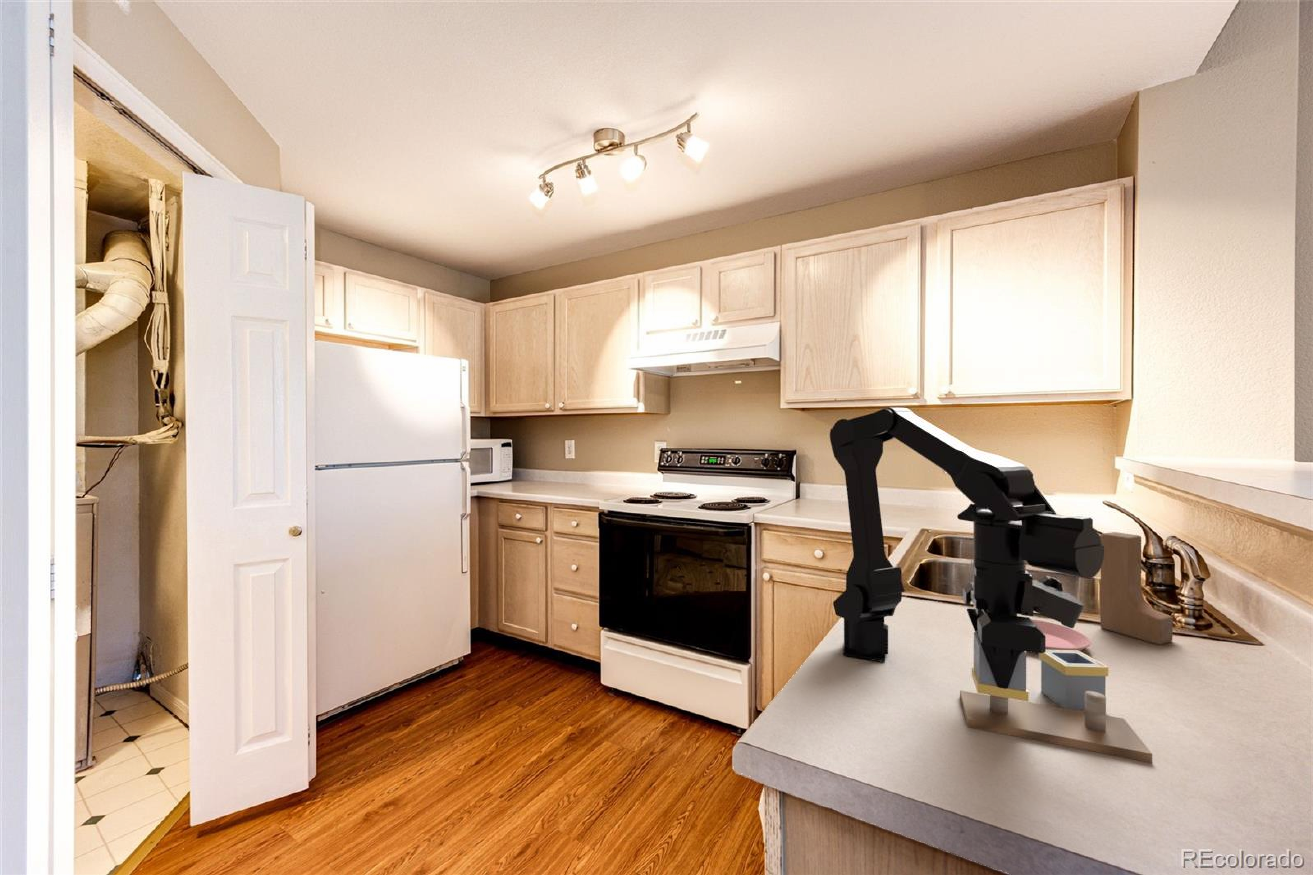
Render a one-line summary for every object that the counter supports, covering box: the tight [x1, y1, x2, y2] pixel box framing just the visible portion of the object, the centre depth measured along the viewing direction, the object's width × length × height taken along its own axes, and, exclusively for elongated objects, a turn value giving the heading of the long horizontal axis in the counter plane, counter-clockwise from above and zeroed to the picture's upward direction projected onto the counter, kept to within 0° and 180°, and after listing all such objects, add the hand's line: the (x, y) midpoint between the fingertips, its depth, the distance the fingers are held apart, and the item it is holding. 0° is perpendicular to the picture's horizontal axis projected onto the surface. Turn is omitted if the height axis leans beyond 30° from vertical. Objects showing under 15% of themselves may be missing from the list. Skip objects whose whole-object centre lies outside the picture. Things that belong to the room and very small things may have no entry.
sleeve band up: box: [1038, 650, 1109, 712], centre depth 73 cm, size 5×5×6 cm
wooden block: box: [1099, 531, 1174, 646], centre depth 96 cm, size 9×4×18 cm, turn 24°
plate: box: [1030, 618, 1091, 652], centre depth 93 cm, size 14×14×2 cm
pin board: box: [959, 690, 1153, 764], centre depth 66 cm, size 18×8×5 cm, turn 66°
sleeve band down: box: [971, 631, 1029, 702], centre depth 69 cm, size 5×5×6 cm
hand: (998, 678), depth 69 cm, fingers closed on sleeve band down, 5 cm apart
